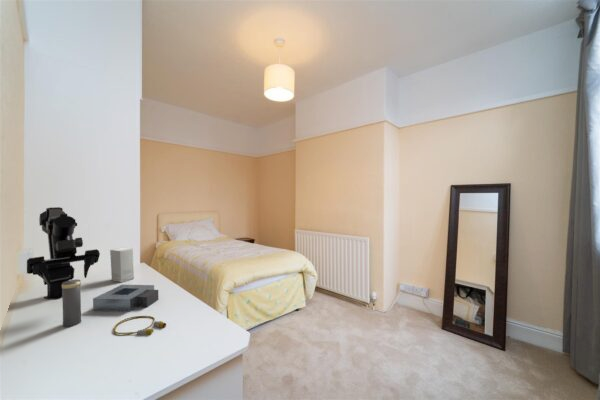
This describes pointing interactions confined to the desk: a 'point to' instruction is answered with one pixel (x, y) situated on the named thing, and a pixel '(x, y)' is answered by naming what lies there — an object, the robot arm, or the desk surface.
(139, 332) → the extension cord
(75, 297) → the plug
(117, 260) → the skincare box
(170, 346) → the desk surface
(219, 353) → the desk surface
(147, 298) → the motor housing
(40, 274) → the robot arm
